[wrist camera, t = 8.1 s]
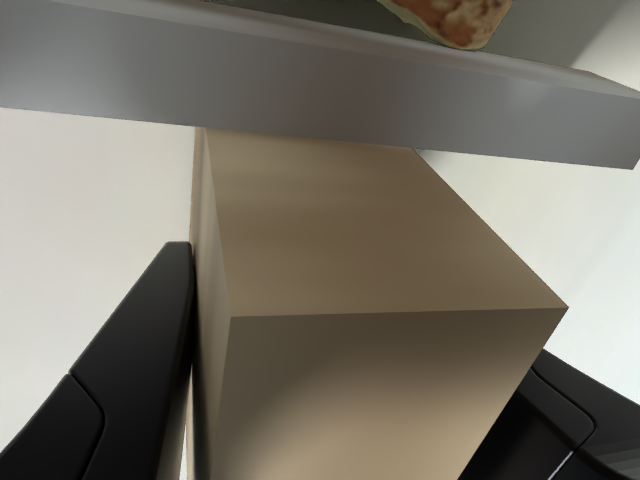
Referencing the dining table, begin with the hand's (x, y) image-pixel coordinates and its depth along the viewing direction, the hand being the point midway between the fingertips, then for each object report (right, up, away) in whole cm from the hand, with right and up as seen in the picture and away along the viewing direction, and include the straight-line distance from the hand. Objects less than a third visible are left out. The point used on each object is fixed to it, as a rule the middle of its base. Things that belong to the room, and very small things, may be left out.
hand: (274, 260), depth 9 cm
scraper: (0, +1, +1) cm, 2 cm away
